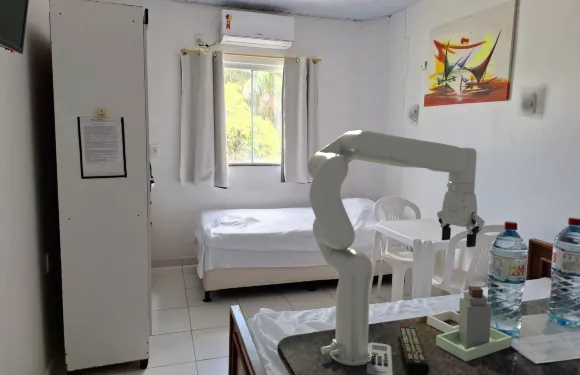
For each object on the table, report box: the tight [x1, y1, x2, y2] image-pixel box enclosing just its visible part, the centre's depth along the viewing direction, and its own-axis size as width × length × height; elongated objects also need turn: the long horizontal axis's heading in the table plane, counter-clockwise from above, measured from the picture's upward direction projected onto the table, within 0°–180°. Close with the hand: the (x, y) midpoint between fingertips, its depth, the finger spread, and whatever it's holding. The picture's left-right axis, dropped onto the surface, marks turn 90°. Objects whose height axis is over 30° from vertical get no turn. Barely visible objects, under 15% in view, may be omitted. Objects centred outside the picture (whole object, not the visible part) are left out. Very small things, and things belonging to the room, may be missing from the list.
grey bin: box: [426, 309, 459, 334], centre depth 139 cm, size 11×11×3 cm
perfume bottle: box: [458, 285, 492, 349], centre depth 125 cm, size 7×7×18 cm
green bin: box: [435, 327, 513, 362], centre depth 126 cm, size 20×11×3 cm, turn 117°
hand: (457, 243), depth 127 cm, fingers open, 9 cm apart
